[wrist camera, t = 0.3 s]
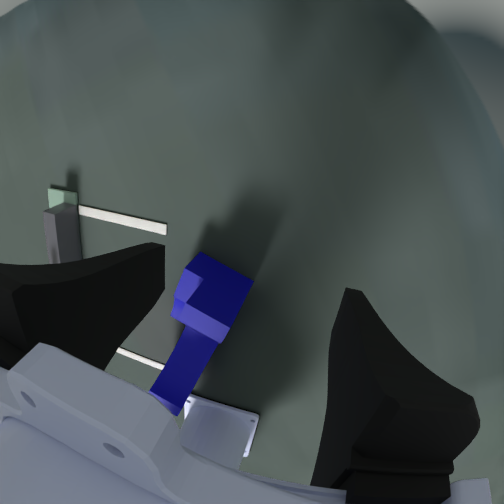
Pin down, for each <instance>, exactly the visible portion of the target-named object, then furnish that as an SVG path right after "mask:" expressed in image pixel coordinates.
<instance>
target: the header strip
mask: <svg viewBox="0 0 504 504" xmlns="http://www.w3.org/2000/svg"><path fill="white" fill-rule="evenodd" d="M48 197H49V209H47V210H45V211H43V219H44V228H45V236H46V244H47V251H48V257H49V263H50V264H56V263H66V262H72V261H78V260H82V251H81V241H80V230H79V216H78V197H77V193H75V192H70V191H65V190H59V189H54V188H48Z"/></svg>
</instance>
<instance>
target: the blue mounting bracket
mask: <svg viewBox="0 0 504 504" xmlns="http://www.w3.org/2000/svg"><path fill="white" fill-rule="evenodd" d="M253 282H254V281H252V280H251V279H249V278H247V277H245V276H243V275H242V274H240V273H238V272H236V271H234V270H233V269H231V268H229V267H227V266H225V265H224V264H222V263H220V262H218V261H216V260H215V259H213V258H211V257H209V256H208V255H206V254H204V253H202V252H199V254H198V255H197V256H196V257H195V258H194V259H193V260H192V261H191V262H190V263H189V264H188V265H187V266H186V267H185V269H184V271H183V274H182V276H181V279H180V281H179V284H178V286H177V289H176V291H175V294H174V298H175V302H174V306H173V310H172V312H171V315H170V316H172V317H173V318H175V319H177V320H178V321H180V322H182V323H183V324H185V325H186V326H185V329H184V331H183V333H182V335H181V337H180V339H179V341H178V343H177V345H176V346H175V348H174V350H173V352H172V354H171V356H170V357H169V359H168V361H167V363H166V364H165V366H164V368H163V370H162V371H161V373H160V375H159V376H158V378H157V380H156V381H155V383H154V384H153V386H152V387H151V389H150V390H149V393H150V394H152V395H153V396H155V397H156V398H157V399H158V400H159V401H160V402H161V403H162V404H163V405H164V406H165V407H166V408H168V409H169V410H170V411H171V413H172V414H173V415H175V416H178V414H179V413H180V411H181V409H182V408H183V406H184V404H185V402H186V400H187V398H188V397H189V395H190V393H191V391H192V389H193V388H194V386H195V384H196V382H197V380H198V379H199V377H200V375H201V373H202V371H203V370H204V368H205V366H206V364H207V363H208V361H209V359H210V357H211V356H212V354H213V352H214V350H215V349H216V347H217V345H218V343H222V341H223V340H224V338H225V336H226V335H227V333H228V331H229V330H230V328H231V326H232V324H233V322H234V320H235V318H236V316H237V314H238V312H239V310H240V308H241V306H242V304H243V302H244V300H245V298H246V296H247V294H248V292H249V290H250V288H251V286H252V284H253Z"/></svg>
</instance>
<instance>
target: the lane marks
mask: <svg viewBox="0 0 504 504" xmlns="http://www.w3.org/2000/svg"><path fill="white" fill-rule="evenodd" d="M79 214H81V215H85V216H89V217H93V218H97V219H101V220H106V221H110V222H114V223H118V224H122V225H126V226H131V227H135V228H139V229H143V230H147V231H152V232H156V233H160V234H164V235H167V225H166V224H162V223H157V222H153V221H148V220H144V219H139V218H135V217H130V216H126V215H121V214H117V213H112V212H108V211H103V210H99V209H94V208H90V207H85V206H81V205H79ZM116 352H118V353H121V354H123V355H125V356H128V357H130V358H133V359H135V360H138V361H140V362H143V363H145V364H148V365H150V366H153V367H156V368H158V369H161V370H163V368H164V366H165V365H163V364H161V363H158V362H155V361H153V360H150V359H147V358H145V357H142V356H140V355H137V354H135V353H132V352H130V351H127V350H125V349H122V348H120V347H119V348H118V349H117V351H116Z"/></svg>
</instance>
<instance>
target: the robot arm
mask: <svg viewBox="0 0 504 504" xmlns="http://www.w3.org/2000/svg"><path fill="white" fill-rule="evenodd" d="M164 289H165V245H161V244H157V243H153V242H151V243H144V244H140V245H136V246H132V247H129V248H125V249H122V250H118V251H115V252H111V253H107V254H103V255H100V256H96V257H92V258H88V259H83V260H78V261H72V262H66V263H56V264H45V265H14V264H2V263H0V504H492V500H491V493H490V487H489V481H488V478H478V479H466V480H459V481H456V482H453V483H451V484H450V481H449V475H451V474H452V473H453V471H454V465H453V460H454V459H455V458H456V457H457V456H458V455H459V454H460V453H461V452H462V451H463V450H464V449H465V448H466V447H467V446H468V445H469V444H470V443H471V442H472V440H473V439H474V438H475V436H476V435H477V433H478V431H479V428H480V418H479V415H478V411H477V408H476V405H475V401H474V398H473V397H472V396H470V395H468V394H467V393H465V392H463V391H461V390H459V389H458V388H456V387H454V386H452V385H450V384H449V383H447V382H446V381H444V380H443V379H441V378H440V377H438V376H437V375H436V374H434V373H433V372H432V371H430V370H429V369H428V368H426V367H425V366H424V365H423V364H422V363H420V362H419V361H418V360H417V359H416V358H415V357H414V356H413V355H411V354H410V353H409V352H408V351H407V350H406V349H405V348H404V346H403V345H402V344H401V343H400V342H399V341H398V340H397V339H396V338H395V337H394V335H393V334H392V333H391V332H390V330H389V329H388V328H387V327H386V325H385V324H384V323H383V321H382V320H381V319H380V317H379V316H378V314H377V313H376V311H375V310H374V309H373V307H372V306H371V304H370V303H369V301H368V300H367V298H366V297H365V295H364V294H363V292H362V291H359V290H355V289H350V288H346V289H345V292H344V295H343V298H342V302H341V305H340V308H339V311H338V314H337V317H336V320H335V323H334V326H333V329H332V333H331V340H330V347H329V358H328V396H327V409H326V415H325V421H324V427H323V432H322V437H321V442H320V447H319V452H318V456H317V460H316V464H315V468H314V472H313V476H312V480H311V484H310V485H304V484H298V483H293V482H288V481H283V480H278V479H273V478H269V477H264V476H260V475H256V474H252V473H248V472H244V471H240V470H239V467H240V464H241V461H242V458H243V457H247V456H248V454H249V450H250V447H251V444H252V440H253V437H254V434H255V430H256V427H257V423H258V420H259V415H258V414H256V413H252V412H248V411H245V410H241V409H237V408H234V407H231V406H227V405H224V404H221V403H217V402H214V401H211V400H208V399H205V398H202V397H199V396H196V395H193V394H190V395H189V397H188V398H187V400H186V402H185V404H184V411H185V420H184V422H183V424H182V426H181V428H180V430H179V428H178V426H177V424H176V422H175V419H174V417H173V415H172V413H171V411H170V410H169V409H168V408H166V407H165V406H164V405H163V404H162V403H161V402H160V401H159V400H158V399H157V398H156V397H155V396H153V395H152V394H150V393H148V392H146V391H145V390H143V389H141V388H139V387H138V386H136V385H134V384H132V383H130V382H127V381H125V380H123V379H120V378H118V377H116V376H114V375H111V374H109V373H107V372H105V371H104V370H105V368H106V367H107V365H108V363H109V362H110V360H111V359H112V357H113V356H114V354H115V353H116V351H117V349H118V348H119V347H120V345H121V344H122V343H123V341H124V340H125V339H126V338H127V337H128V336H129V334H130V333H131V332H132V331H133V330H134V329H135V328H136V326H137V325H138V324H139V323H140V322H141V321H142V320H143V318H144V317H145V316H146V315H147V314H148V313H149V311H150V310H151V309H152V308H153V307H154V305H155V304H156V302H157V301H158V299H159V298H160V296H161V294H162V293H163V291H164Z"/></svg>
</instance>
